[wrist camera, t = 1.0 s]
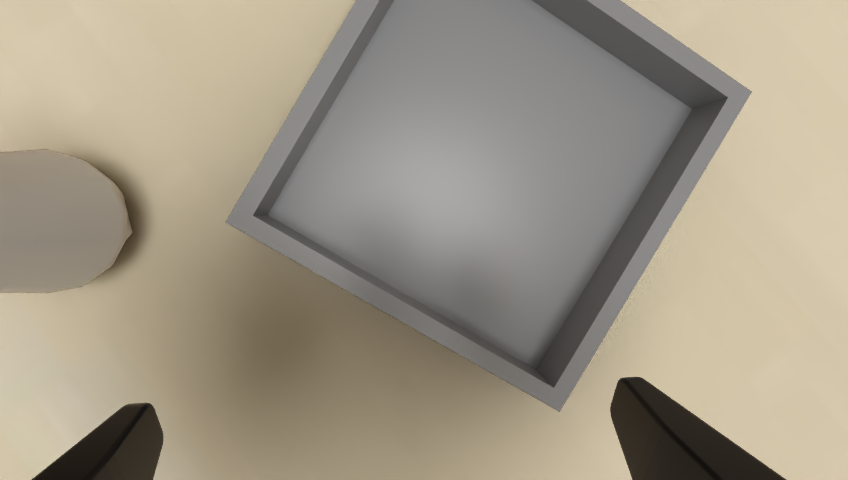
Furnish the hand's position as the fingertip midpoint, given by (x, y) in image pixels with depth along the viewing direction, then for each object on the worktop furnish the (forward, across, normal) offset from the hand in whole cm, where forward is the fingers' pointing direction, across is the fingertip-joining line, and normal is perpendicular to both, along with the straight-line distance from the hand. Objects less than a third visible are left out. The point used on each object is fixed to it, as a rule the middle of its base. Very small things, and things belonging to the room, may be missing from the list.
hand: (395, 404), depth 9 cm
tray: (+15, -5, 0) cm, 16 cm away
